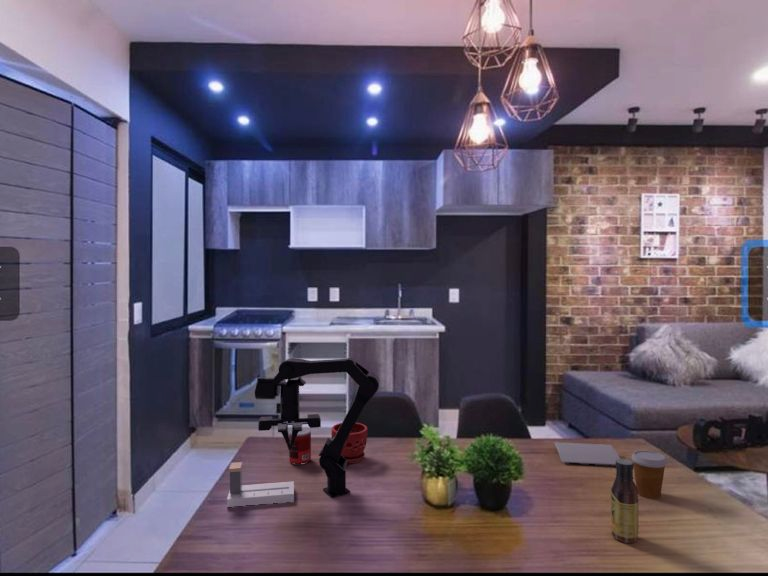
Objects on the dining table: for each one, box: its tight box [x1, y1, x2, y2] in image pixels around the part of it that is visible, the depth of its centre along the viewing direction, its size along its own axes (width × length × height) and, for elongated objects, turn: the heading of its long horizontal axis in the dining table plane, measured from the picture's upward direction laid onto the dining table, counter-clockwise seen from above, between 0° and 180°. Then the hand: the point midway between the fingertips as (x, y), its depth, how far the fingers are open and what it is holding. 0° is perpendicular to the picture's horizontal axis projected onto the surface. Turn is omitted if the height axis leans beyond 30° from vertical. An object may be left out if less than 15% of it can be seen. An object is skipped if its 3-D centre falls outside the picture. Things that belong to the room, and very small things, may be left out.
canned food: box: [288, 427, 312, 464], centre depth 176 cm, size 8×8×11 cm
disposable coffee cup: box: [630, 449, 668, 500], centre depth 148 cm, size 10×10×12 cm
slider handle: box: [228, 461, 243, 494], centre depth 145 cm, size 3×5×8 cm
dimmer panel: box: [226, 481, 295, 508], centre depth 146 cm, size 19×9×3 cm, turn 100°
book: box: [553, 441, 621, 467], centre depth 178 cm, size 15×23×4 cm, turn 81°
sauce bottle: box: [610, 458, 639, 544], centre depth 123 cm, size 7×6×20 cm
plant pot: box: [331, 422, 368, 464], centre depth 177 cm, size 13×13×12 cm
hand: (290, 449), depth 151 cm, fingers closed
